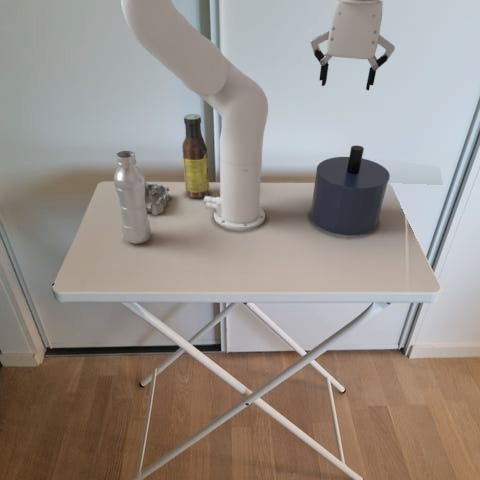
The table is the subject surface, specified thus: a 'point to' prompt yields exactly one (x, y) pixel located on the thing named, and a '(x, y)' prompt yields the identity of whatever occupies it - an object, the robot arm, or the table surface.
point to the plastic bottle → (132, 198)
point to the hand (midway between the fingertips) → (345, 86)
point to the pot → (346, 208)
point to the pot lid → (353, 172)
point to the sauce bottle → (195, 158)
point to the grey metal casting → (155, 198)
